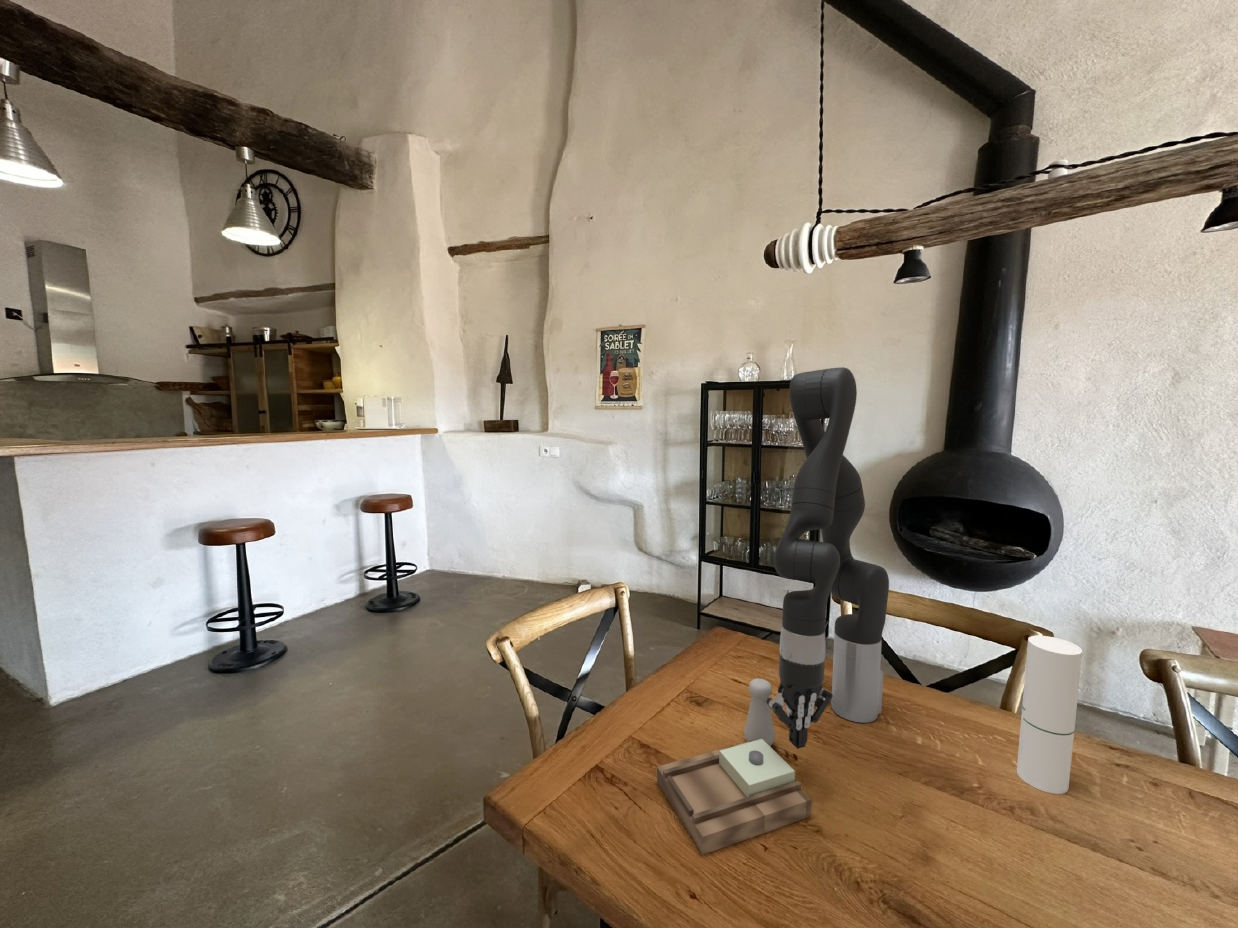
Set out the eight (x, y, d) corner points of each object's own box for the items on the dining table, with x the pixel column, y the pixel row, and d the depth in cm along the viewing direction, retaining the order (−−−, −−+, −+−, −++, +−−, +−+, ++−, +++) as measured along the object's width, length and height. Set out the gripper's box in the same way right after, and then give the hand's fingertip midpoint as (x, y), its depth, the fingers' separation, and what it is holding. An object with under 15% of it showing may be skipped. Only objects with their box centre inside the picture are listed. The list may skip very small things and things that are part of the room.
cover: (761, 751, 95) (762, 733, 95) (794, 784, 87) (795, 765, 86) (719, 763, 92) (719, 745, 92) (748, 799, 84) (749, 779, 83)
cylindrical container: (1060, 771, 94) (1073, 639, 91) (1075, 798, 87) (1089, 658, 85) (1012, 760, 97) (1023, 632, 94) (1022, 786, 90) (1035, 649, 88)
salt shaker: (771, 736, 104) (773, 675, 103) (777, 755, 99) (779, 690, 97) (742, 734, 105) (743, 673, 104) (746, 753, 99) (747, 689, 98)
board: (752, 754, 99) (752, 735, 99) (810, 816, 84) (811, 793, 84) (656, 782, 92) (656, 761, 92) (702, 854, 77) (702, 830, 77)
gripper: (817, 637, 96) (813, 725, 98) (757, 648, 92) (753, 740, 94) (848, 656, 89) (842, 750, 91) (784, 668, 85) (779, 767, 87)
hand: (797, 745), depth 93 cm, fingers closed
